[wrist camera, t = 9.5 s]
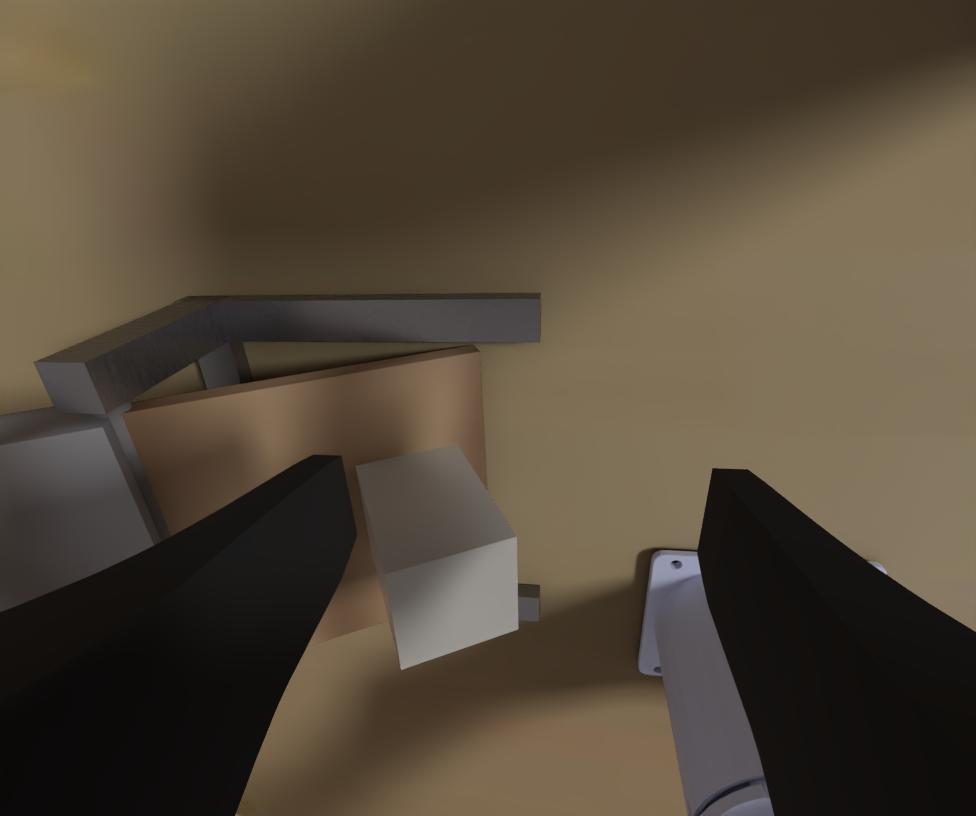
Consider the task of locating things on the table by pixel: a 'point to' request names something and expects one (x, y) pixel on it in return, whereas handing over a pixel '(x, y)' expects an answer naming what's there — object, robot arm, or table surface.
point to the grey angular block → (292, 318)
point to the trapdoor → (219, 466)
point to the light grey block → (439, 553)
